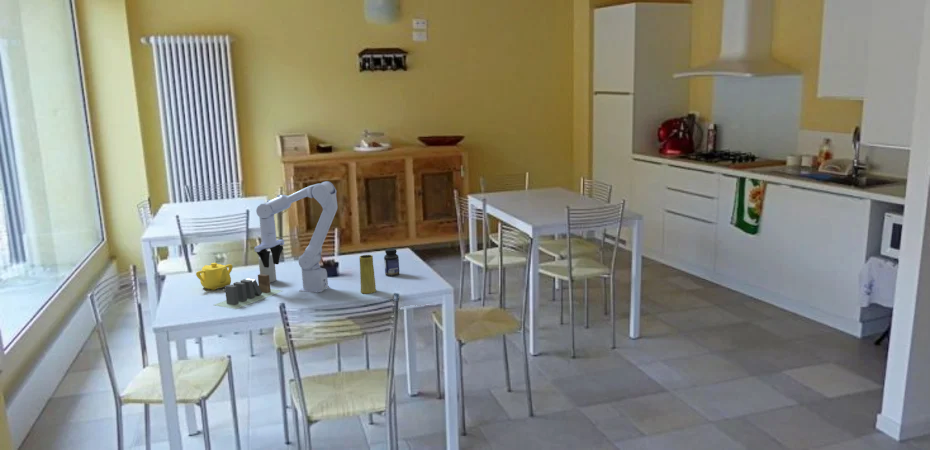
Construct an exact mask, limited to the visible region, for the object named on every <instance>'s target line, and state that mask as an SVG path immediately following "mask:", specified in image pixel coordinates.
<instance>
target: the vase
mask: <svg viewBox="0 0 930 450" xmlns="http://www.w3.org/2000/svg"><path fill="white" fill-rule="evenodd" d="M373 256H374V255H372V254H362V255H360V256H359V272H360V273H359V275H360V294H366V295H367V294H374V293H376V292H377V288H376V278H375V277H376V276H375V267H374V258H373Z"/></svg>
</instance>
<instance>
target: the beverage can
mask: <svg viewBox="0 0 930 450" xmlns="http://www.w3.org/2000/svg"><path fill="white" fill-rule="evenodd" d="M257 259H258V266H259V267H258V269H259V274H266V275H269V279H270V284H271V283H274V282H276V281H277V272H276V264H274V263H273V257H272V253H271V252H270V255H269V267H268V268H266V267H264V265H263V263H262V260H261V258H260V257H259V256H258V258H257Z"/></svg>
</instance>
